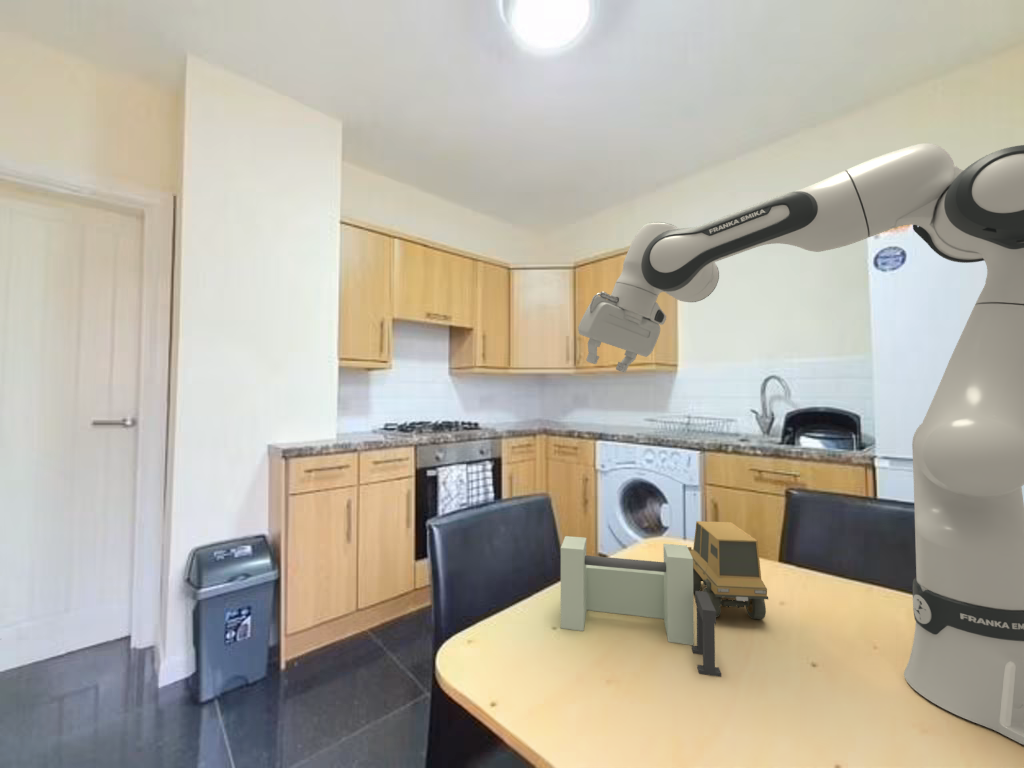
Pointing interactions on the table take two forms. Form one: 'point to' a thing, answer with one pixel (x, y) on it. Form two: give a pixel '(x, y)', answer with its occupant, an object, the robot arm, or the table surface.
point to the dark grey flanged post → (706, 634)
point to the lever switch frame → (628, 588)
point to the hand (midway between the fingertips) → (606, 367)
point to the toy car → (728, 567)
